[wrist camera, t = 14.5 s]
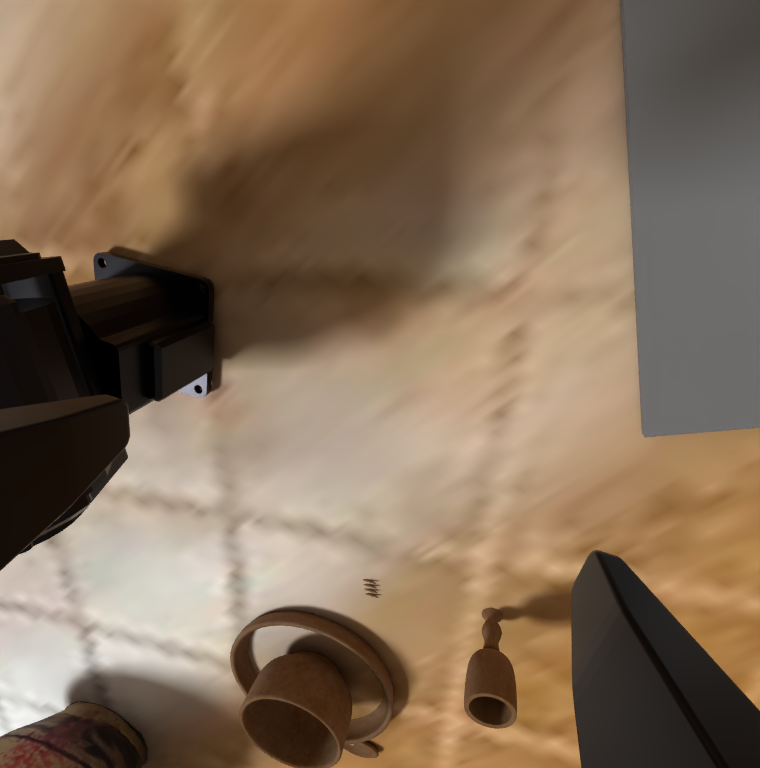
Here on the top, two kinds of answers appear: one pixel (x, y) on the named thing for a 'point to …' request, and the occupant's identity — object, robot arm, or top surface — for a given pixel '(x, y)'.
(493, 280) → the top surface
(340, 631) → the place setting
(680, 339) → the charcoal rubber mat
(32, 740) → the ceramic jug
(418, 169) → the top surface
